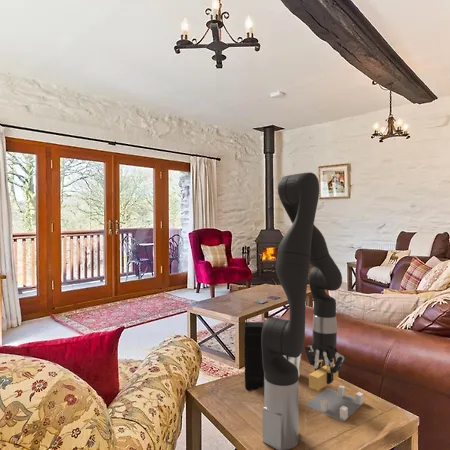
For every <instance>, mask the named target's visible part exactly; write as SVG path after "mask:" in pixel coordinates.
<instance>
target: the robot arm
mask: <svg viewBox="0 0 450 450" xmlns="http://www.w3.org/2000/svg"><path fill="white" fill-rule="evenodd" d="M277 194H278V197H279V200H280V203H281V204H282V206H283V208H284V210H285V212H286V214H287V217H289V219H290V221H291V224H292V225H291V226H290V227H289V229H288V231H286V233H285V235H284V236H283V237H282V239H281V241H280V243H279V245H278V248H277V255H276V262H275V272H276V276H277V279H278V280H279V283H280V285H281V287H282V289H283V291H284V293H285V297H286V299H287V301H288V307H289V319H283V318H277V317H268V318H267V319H266V320H264V325H263V328H262V334H261V345H262V362H263V370H264V387H263V389H264V390H263V391H264V393H263V394H264V395H263V396H264V398H263V400H264V406H263V407H262V442H263V443H264V444H266V445H268V446H269V447H271V448H273V449H276V450H291V449H294V448H295V447H297V445H298V444H299V377H298V369H297V367H296V366H295V365H294V364H293V363H291V362H290V361H288V360H287V359H286V358H285V357H284V356H288V357H293V358H297V357H299V356H300V354H301V355H302V353H303V349H304V351H305V354H306V356H307V360H308V363H309V365H310V366H313V367H314V371H316V370H318V369H320V368H321V367H322V365H323V364H322V363H323V362H324V366H325V365H326V366H327V385H330V384H332V383H333V382H334V380H333V373H336V372H337V371H338V372H339V371H340V370H341V367H342V365H343V363H344V361H345V359H346V356H345V355H344V354H340V353H339V352H338V349H337V335H338V334H337V333H338V326H337V325H338V322H337V301H336V299H335V298H334V297H332V296H331V295H329V294H328V293H327V292H326V290H327V291H331V292H333V291H334V292H335V291H338V290H339V289H340V288H341V287H342V283H343V276H342V272H341V270H340V268H339V267H338V265H337V263H336V262H335V260H334V259H333V258H332V256H331V255H330V252H329V247H328V245H327V242H326V238H325V237H324V235H323V233H322V232H321V231H320V229H319V228H318V227H317V226H316V225H315V219H316V213H317V209H318V204H319V197H320V181H319V178H318V176H317V175H316V174H315V173H313V172H302V173H295V174H290V175H285V176H282V177H281V178H280V180H279V181H278V184H277ZM310 266H312V268H311V269H310ZM308 286H309V289H310V293H311V297H312V301H313V316H312V317H313V318H312V345H311V344H309V345H307V346H305V339H306V338H305V337H306V307H307V306H306V305H307V304H306V303H307V302H306V301H307V290H308ZM304 346H305V347H304ZM283 355H284V356H283ZM334 358H335V360H334ZM335 361H336V362H335ZM334 364H335V366H334Z"/></svg>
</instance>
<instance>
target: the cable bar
mask: <svg viewBox="0 0 450 450" xmlns="http://www.w3.org/2000/svg"><path fill="white" fill-rule="evenodd" d="M334 366H335V363H334ZM338 378H339V371H337V372H336V373H333V381H335V380H336V379H338ZM327 385H328V384H327V366H326V365H325V364H324V366H321V368H320V369H318V370H316V371H315V370H314V371H313V372H311V373H309V374H308V387H309V388H310V389H311V390H315V391H320V390H322V389H323V388H324V387H326V386H327Z"/></svg>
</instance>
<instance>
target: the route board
mask: <svg viewBox="0 0 450 450" xmlns="http://www.w3.org/2000/svg"><path fill="white" fill-rule="evenodd" d="M364 403H365V401H364V393H363V392H360V391H357V392H356V393H355V396H351V395H348V394H346V387H345V386H344V385H339V386H337V390H336V389H333V388H329V387H327V388H325V389H324V390H323V391H322V392H320V393H318V394H317V395H316V396H314V397H313V398H312V399H311V400H309V401H308V402H307V403H305V404H304V406H306V407H308V408H310V409H313V410H315V411H317V412H319V413H322V414H324V415H326V416H328V417H330V418H333V419H335V420H337V421H340V422H342V423H344V422H345V421H346V420H348V419H349V418H350V417H351V416H352V415H353V414H354V413H355V412H356V411H357V410H358V409H359V408H360V407H361V406H362V405H363V404H364Z"/></svg>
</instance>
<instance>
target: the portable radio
mask: <svg viewBox="0 0 450 450" xmlns="http://www.w3.org/2000/svg"><path fill="white" fill-rule="evenodd" d="M247 320H248V317H246V316H245V322H244V325H243V327H244V329H243V331H244V332H243V333H244V336H243V337H244V338H243V339H244V341H243V342H244V387H245V389H246V390H257V389H259V388H264V370H263V362H262V345H261V334H262V328H263V325H264V323H265V321H264V322H263V321H258V322H257V321H247Z"/></svg>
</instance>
